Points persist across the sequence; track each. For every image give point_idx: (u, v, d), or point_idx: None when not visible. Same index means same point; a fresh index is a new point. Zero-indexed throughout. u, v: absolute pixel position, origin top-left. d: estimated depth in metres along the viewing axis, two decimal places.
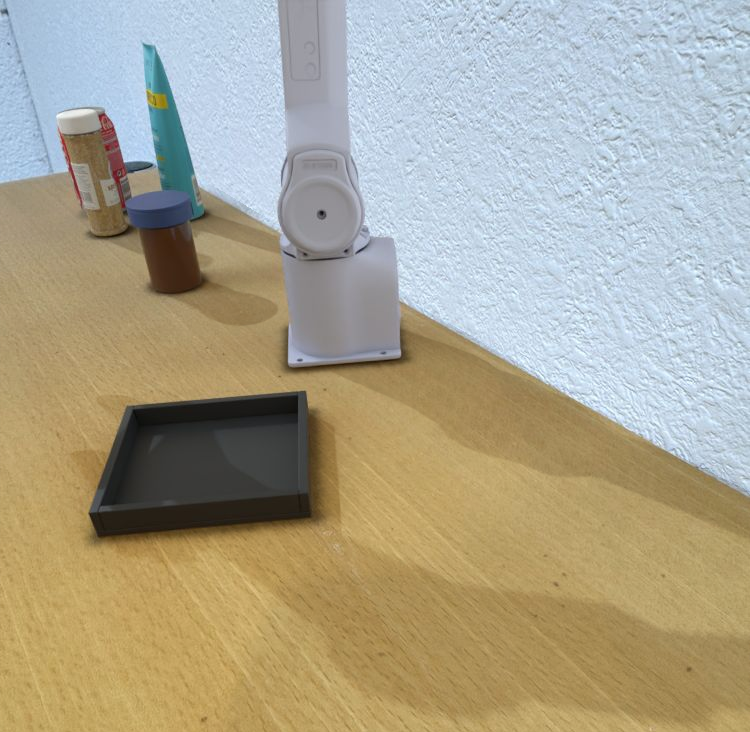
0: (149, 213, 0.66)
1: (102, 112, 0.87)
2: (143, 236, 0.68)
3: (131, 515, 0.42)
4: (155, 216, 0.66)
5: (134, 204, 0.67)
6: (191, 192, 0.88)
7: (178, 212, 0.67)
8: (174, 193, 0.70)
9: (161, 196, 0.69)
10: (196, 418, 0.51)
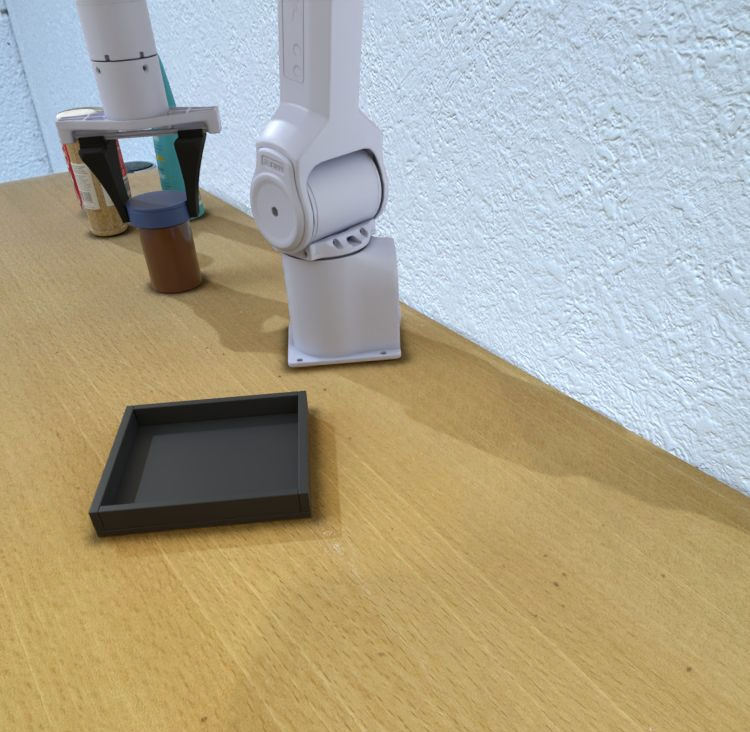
0: (149, 213, 0.66)
1: None
2: (143, 236, 0.68)
3: (131, 515, 0.42)
4: (155, 216, 0.66)
5: (133, 204, 0.67)
6: None
7: (178, 212, 0.67)
8: (174, 193, 0.70)
9: (161, 196, 0.69)
10: (196, 418, 0.51)
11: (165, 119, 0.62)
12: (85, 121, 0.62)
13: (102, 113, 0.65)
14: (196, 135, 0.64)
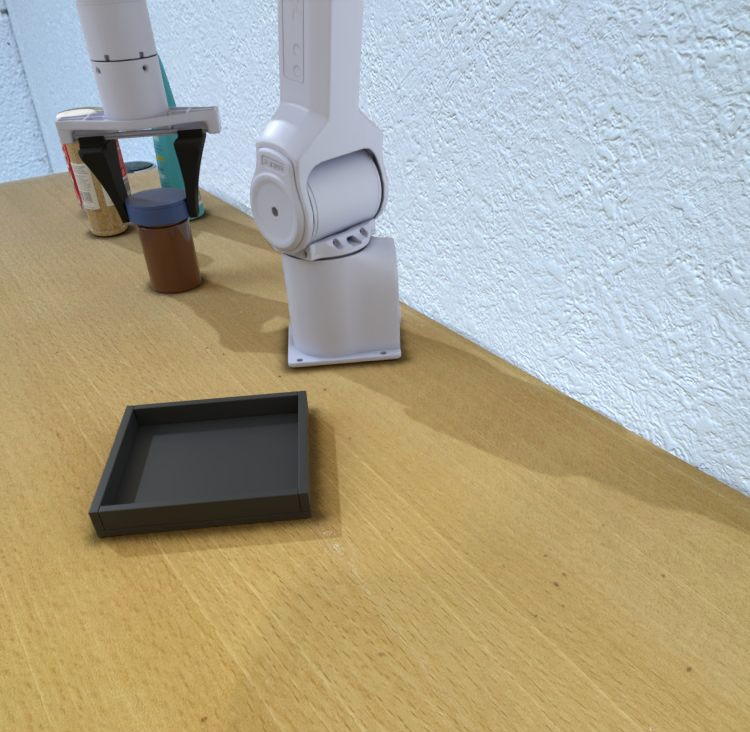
0: None
1: None
2: (143, 236, 0.68)
3: (131, 515, 0.42)
4: None
5: (165, 202, 0.66)
6: None
7: None
8: (142, 193, 0.69)
9: (147, 196, 0.68)
10: (196, 418, 0.51)
11: (165, 119, 0.62)
12: (85, 121, 0.62)
13: (102, 113, 0.65)
14: (196, 135, 0.64)
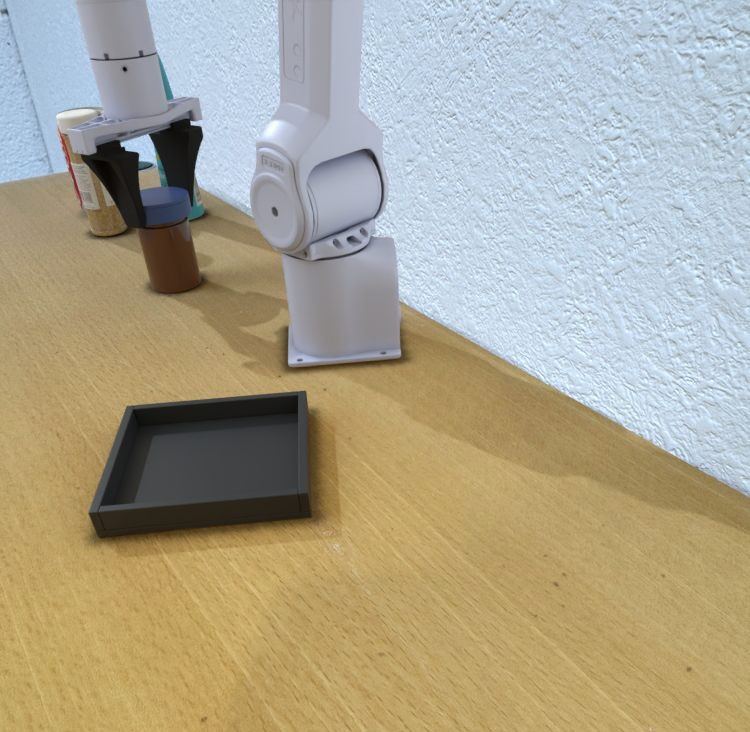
0: None
1: None
2: (143, 236, 0.68)
3: (131, 515, 0.42)
4: None
5: (179, 195, 0.68)
6: None
7: None
8: None
9: (147, 198, 0.67)
10: (196, 418, 0.51)
11: (176, 110, 0.64)
12: (112, 124, 0.60)
13: (93, 120, 0.62)
14: (187, 124, 0.67)
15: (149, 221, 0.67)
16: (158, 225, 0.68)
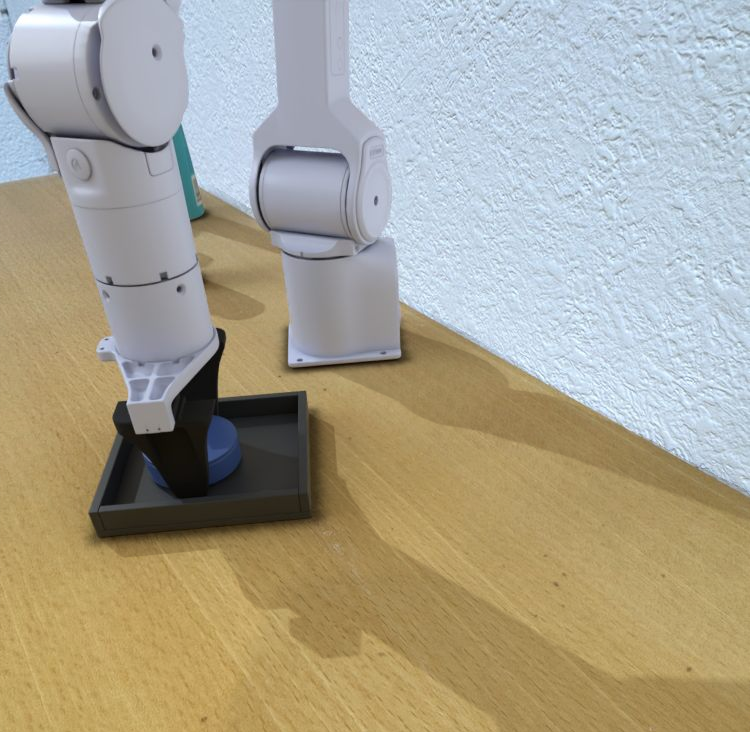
0: None
1: None
2: None
3: (131, 515, 0.42)
4: None
5: (223, 427, 0.47)
6: (191, 192, 0.88)
7: None
8: None
9: None
10: None
11: None
12: (183, 373, 0.38)
13: (125, 372, 0.39)
14: None
15: (211, 480, 0.45)
16: None
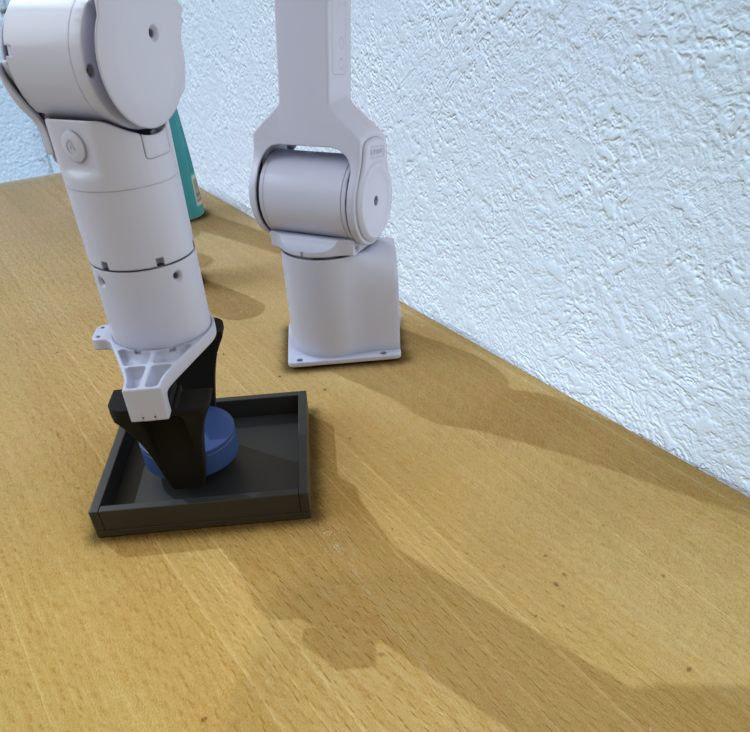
0: None
1: None
2: None
3: (131, 515, 0.42)
4: None
5: (220, 418, 0.46)
6: (191, 192, 0.88)
7: None
8: None
9: None
10: None
11: None
12: (180, 361, 0.38)
13: (120, 359, 0.38)
14: None
15: (208, 471, 0.44)
16: None
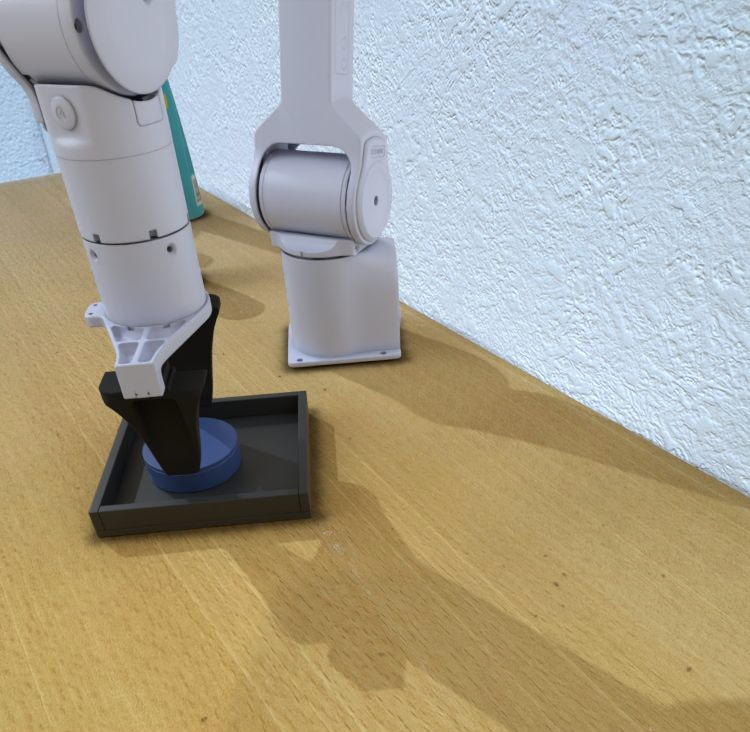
0: None
1: None
2: None
3: (131, 515, 0.42)
4: None
5: (223, 430, 0.47)
6: (191, 192, 0.88)
7: None
8: None
9: None
10: None
11: None
12: (174, 337, 0.37)
13: (113, 336, 0.37)
14: None
15: (211, 483, 0.45)
16: None
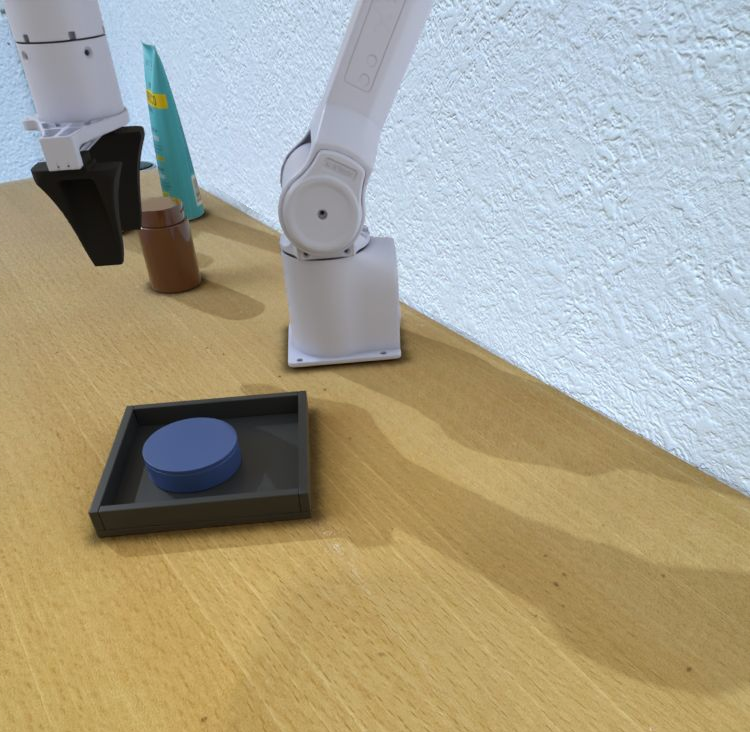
0: None
1: None
2: (143, 236, 0.68)
3: (131, 515, 0.42)
4: None
5: (223, 430, 0.47)
6: (191, 192, 0.88)
7: None
8: (164, 459, 0.45)
9: (184, 451, 0.45)
10: None
11: None
12: (91, 126, 0.45)
13: (43, 127, 0.46)
14: None
15: (211, 483, 0.45)
16: (158, 225, 0.68)
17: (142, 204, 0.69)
